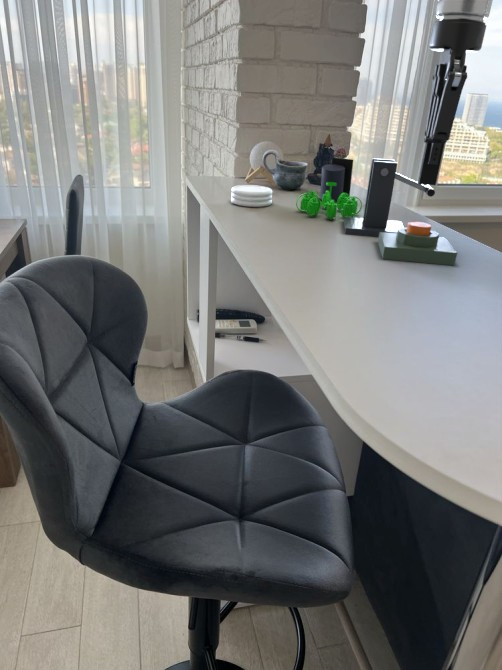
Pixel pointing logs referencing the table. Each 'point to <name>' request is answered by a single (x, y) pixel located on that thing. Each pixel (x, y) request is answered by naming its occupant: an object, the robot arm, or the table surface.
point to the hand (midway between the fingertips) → (426, 183)
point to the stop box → (416, 247)
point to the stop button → (418, 228)
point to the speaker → (337, 177)
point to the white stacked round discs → (251, 195)
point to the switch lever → (415, 184)
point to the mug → (286, 172)
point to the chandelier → (329, 204)
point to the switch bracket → (376, 202)
